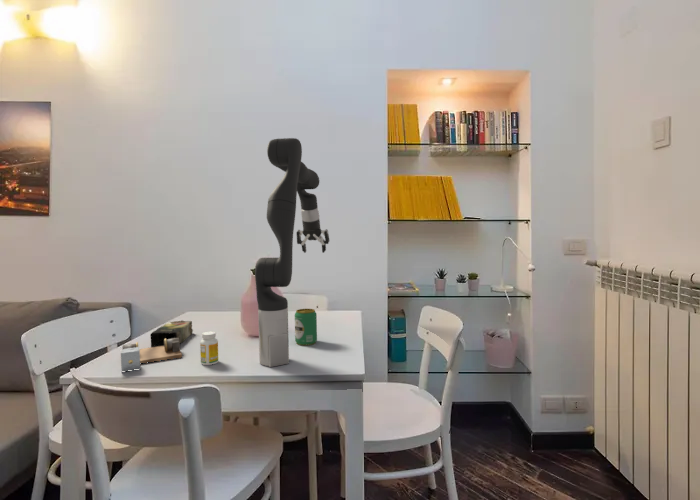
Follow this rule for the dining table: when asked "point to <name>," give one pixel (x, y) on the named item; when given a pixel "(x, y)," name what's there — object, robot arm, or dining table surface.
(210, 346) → the supplement bottle
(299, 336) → the beverage can
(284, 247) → the robot arm
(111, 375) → the dining table surface
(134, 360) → the block
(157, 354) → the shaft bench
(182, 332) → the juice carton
